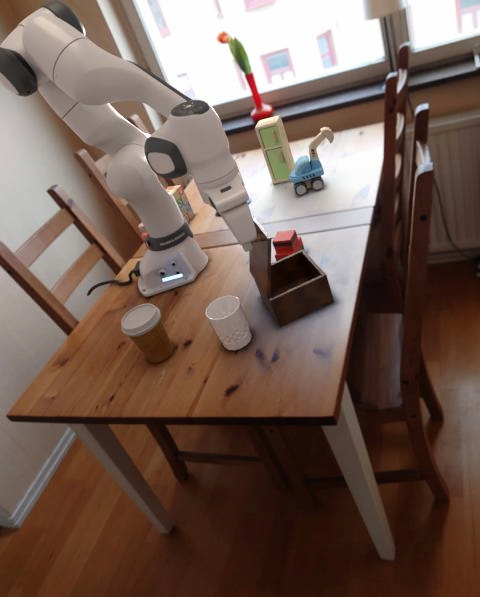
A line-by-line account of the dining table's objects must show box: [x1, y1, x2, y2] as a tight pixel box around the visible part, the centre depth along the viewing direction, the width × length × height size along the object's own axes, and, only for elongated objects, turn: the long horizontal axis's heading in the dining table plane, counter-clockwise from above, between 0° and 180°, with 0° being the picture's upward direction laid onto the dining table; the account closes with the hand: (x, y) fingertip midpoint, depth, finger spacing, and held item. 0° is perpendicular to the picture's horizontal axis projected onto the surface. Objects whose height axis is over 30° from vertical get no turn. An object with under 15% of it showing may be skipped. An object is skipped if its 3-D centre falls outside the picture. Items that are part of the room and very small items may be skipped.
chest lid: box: [248, 213, 272, 300], centre depth 102 cm, size 14×14×4 cm
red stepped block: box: [271, 229, 306, 262], centre depth 123 cm, size 8×5×8 cm, turn 157°
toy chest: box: [254, 249, 335, 328], centre depth 109 cm, size 14×14×8 cm
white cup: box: [205, 294, 253, 351], centre depth 104 cm, size 8×8×10 cm
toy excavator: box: [289, 126, 335, 196], centre depth 150 cm, size 9×17×17 cm, turn 89°
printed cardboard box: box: [137, 184, 196, 235], centre depth 161 cm, size 21×6×12 cm, turn 152°
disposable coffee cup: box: [120, 302, 174, 363], centre depth 110 cm, size 10×10×12 cm
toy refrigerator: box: [254, 114, 296, 185], centre depth 162 cm, size 8×7×21 cm
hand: (244, 243), depth 100 cm, fingers closed on chest lid, 5 cm apart
